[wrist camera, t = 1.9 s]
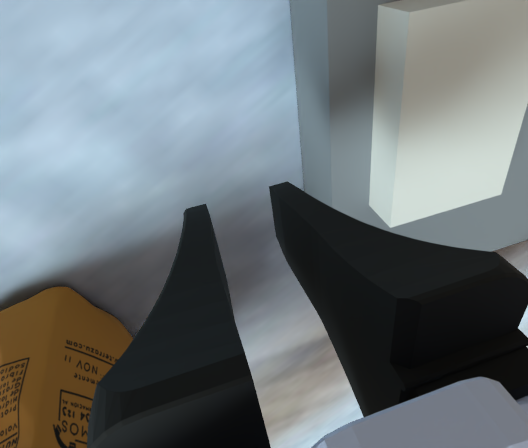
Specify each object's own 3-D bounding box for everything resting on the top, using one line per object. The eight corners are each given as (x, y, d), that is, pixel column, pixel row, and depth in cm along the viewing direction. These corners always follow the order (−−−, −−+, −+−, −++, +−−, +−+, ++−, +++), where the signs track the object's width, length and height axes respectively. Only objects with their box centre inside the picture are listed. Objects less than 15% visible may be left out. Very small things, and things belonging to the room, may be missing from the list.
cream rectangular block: (472, 175, 21) (501, 194, 19) (369, 205, 20) (390, 227, 18) (518, -24, 15) (563, -21, 14) (378, 4, 14) (409, 12, 13)
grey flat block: (488, 205, 29) (532, 238, 26) (309, 260, 27) (334, 302, 23) (613, -253, 15) (739, -303, 12) (272, -217, 13) (320, -266, 10)
